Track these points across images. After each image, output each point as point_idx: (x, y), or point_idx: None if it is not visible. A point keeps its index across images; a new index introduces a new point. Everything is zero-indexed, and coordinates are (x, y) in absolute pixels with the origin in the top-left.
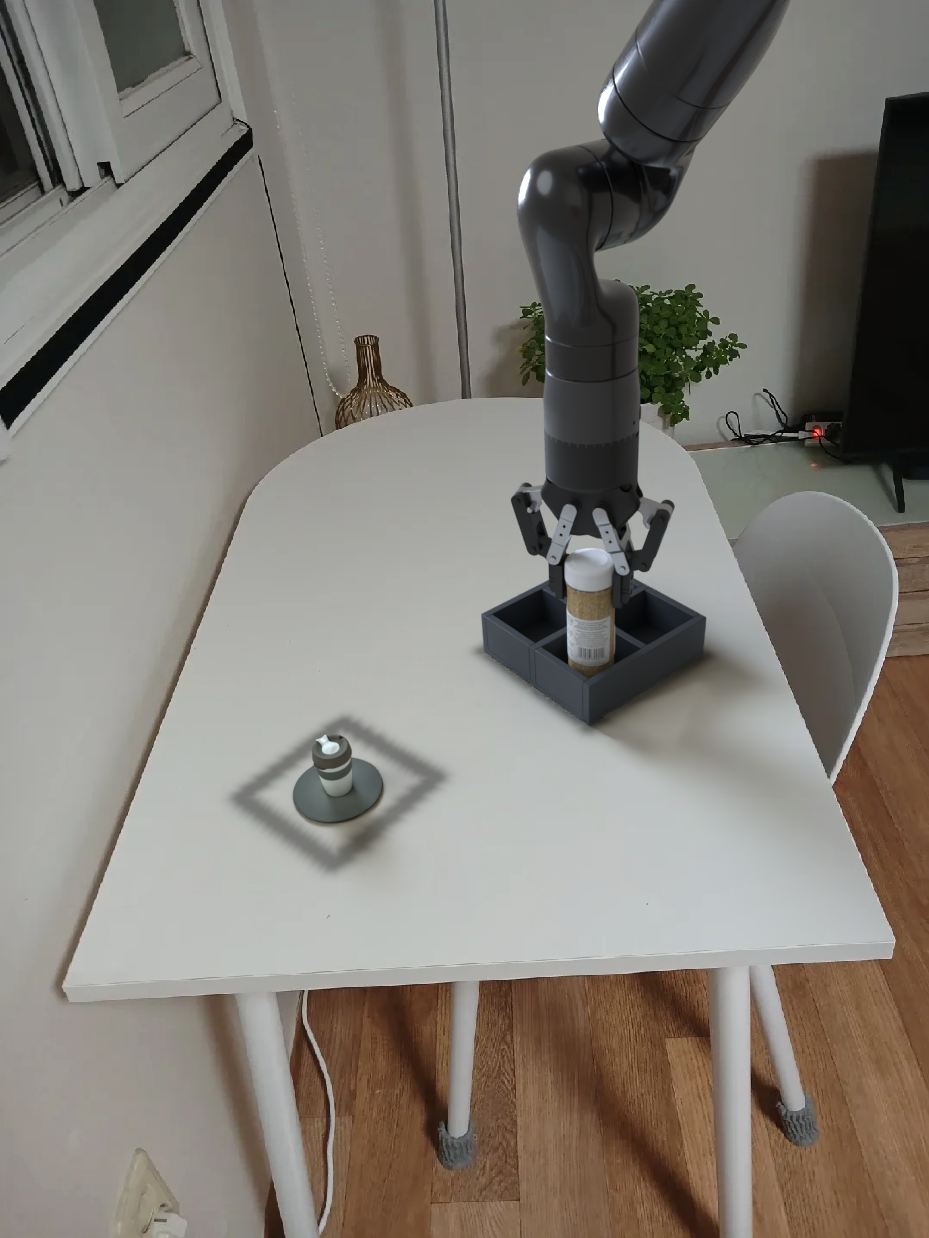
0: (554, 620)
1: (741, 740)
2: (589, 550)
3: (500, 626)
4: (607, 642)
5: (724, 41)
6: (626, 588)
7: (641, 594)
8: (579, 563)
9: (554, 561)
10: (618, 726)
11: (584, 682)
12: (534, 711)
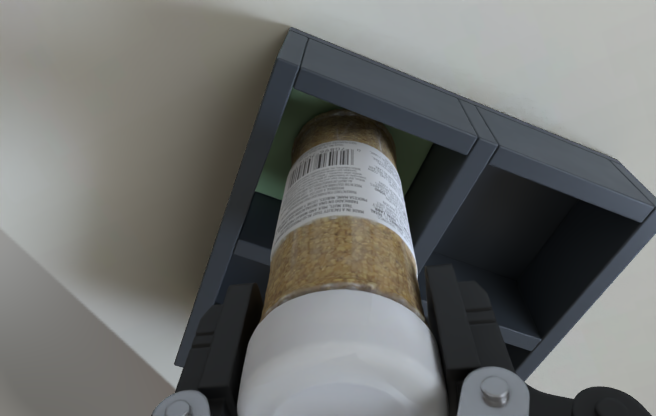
0: (488, 282)
1: (11, 122)
2: None
3: (603, 188)
4: (282, 203)
5: None
6: (199, 349)
7: None
8: (374, 400)
9: (483, 381)
10: (233, 55)
11: (295, 68)
12: (428, 17)
